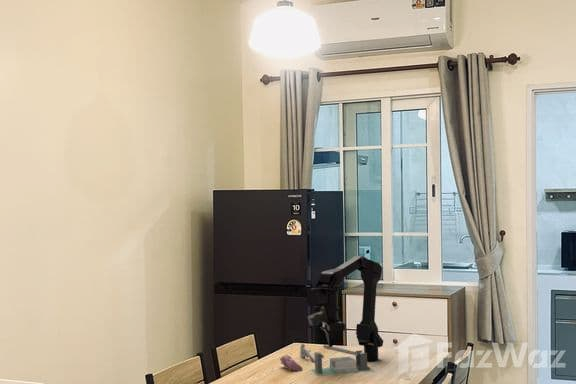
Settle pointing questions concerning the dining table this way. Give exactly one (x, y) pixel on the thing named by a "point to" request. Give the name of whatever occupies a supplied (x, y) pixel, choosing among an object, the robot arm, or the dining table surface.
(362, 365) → the hinge post
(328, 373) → the board
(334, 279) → the robot arm
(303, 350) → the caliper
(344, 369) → the heatsink
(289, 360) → the purple rounded piece
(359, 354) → the strap
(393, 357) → the dining table surface
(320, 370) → the post
